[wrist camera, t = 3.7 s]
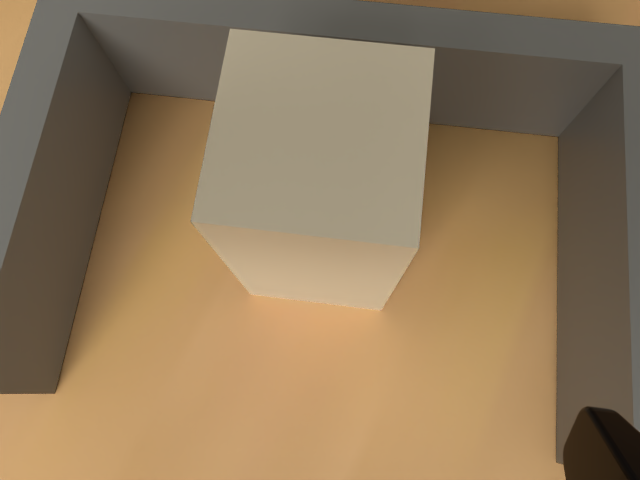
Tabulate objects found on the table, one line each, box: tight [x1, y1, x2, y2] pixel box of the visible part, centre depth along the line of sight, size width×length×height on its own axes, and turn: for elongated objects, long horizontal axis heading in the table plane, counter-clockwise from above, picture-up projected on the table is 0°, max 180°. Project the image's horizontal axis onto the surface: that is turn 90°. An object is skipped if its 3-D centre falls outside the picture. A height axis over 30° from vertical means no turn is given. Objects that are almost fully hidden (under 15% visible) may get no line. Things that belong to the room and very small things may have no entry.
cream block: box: [191, 29, 435, 311], centre depth 17 cm, size 5×5×9 cm
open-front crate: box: [0, 0, 640, 464], centre depth 18 cm, size 14×21×5 cm, turn 83°
